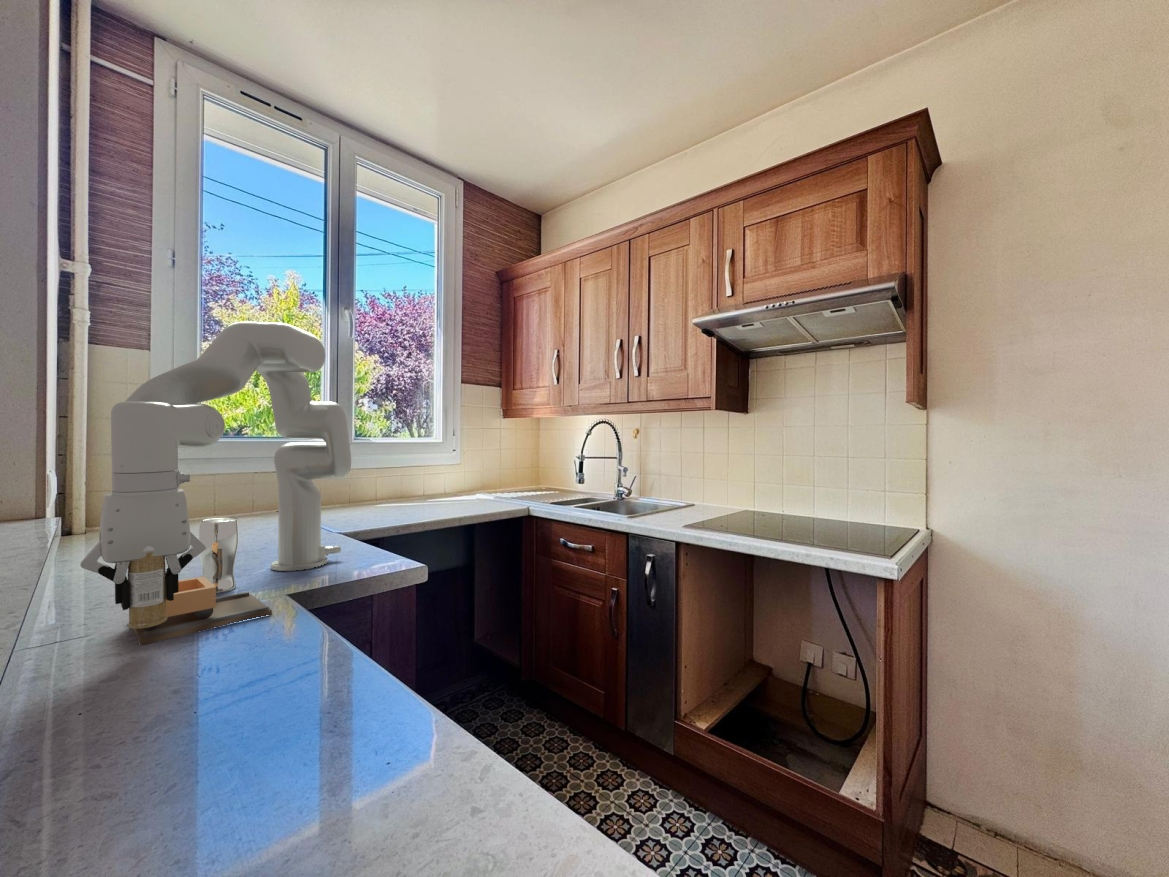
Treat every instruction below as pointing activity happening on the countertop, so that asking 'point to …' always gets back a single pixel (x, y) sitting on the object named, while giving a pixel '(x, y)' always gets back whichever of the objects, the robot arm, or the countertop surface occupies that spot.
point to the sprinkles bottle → (147, 591)
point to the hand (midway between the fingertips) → (147, 601)
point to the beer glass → (219, 551)
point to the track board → (223, 614)
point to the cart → (192, 599)
